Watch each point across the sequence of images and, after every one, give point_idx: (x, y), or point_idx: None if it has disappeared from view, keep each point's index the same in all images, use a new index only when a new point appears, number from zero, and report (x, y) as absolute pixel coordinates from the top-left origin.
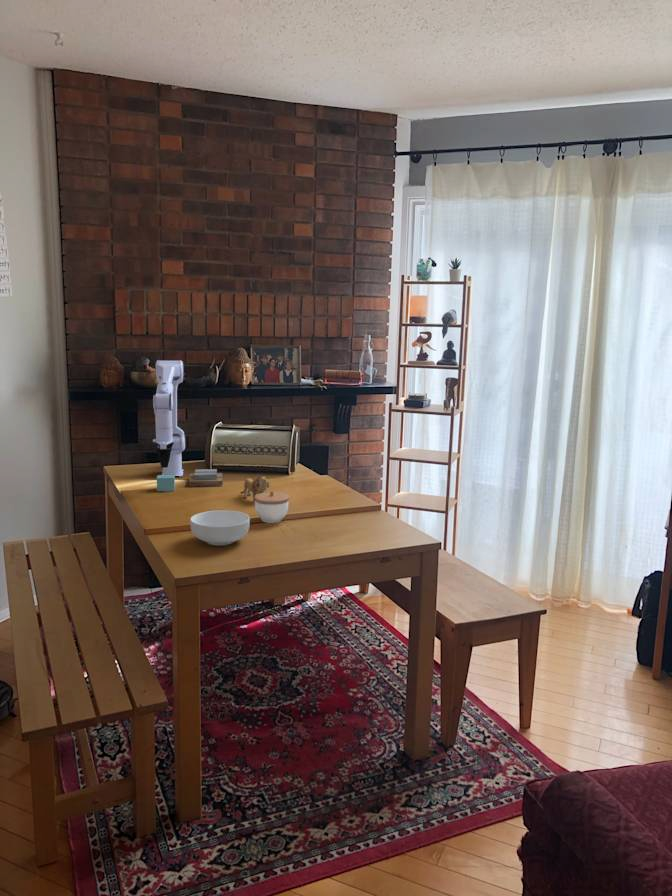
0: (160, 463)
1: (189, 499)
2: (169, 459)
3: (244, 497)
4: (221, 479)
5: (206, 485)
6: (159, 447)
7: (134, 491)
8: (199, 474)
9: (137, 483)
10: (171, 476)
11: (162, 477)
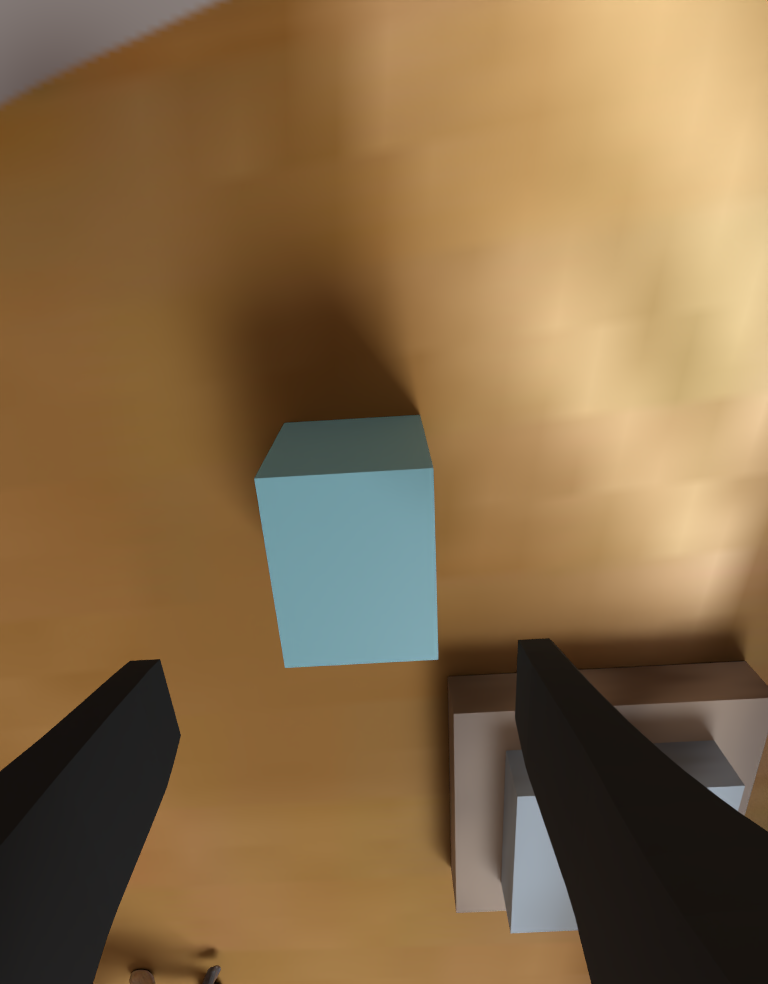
0: (80, 705)
1: (49, 709)
2: (529, 773)
3: (132, 978)
4: (497, 906)
5: (451, 791)
6: (674, 917)
7: (284, 142)
8: (522, 829)
9: (693, 111)
10: (353, 636)
11: (300, 544)
